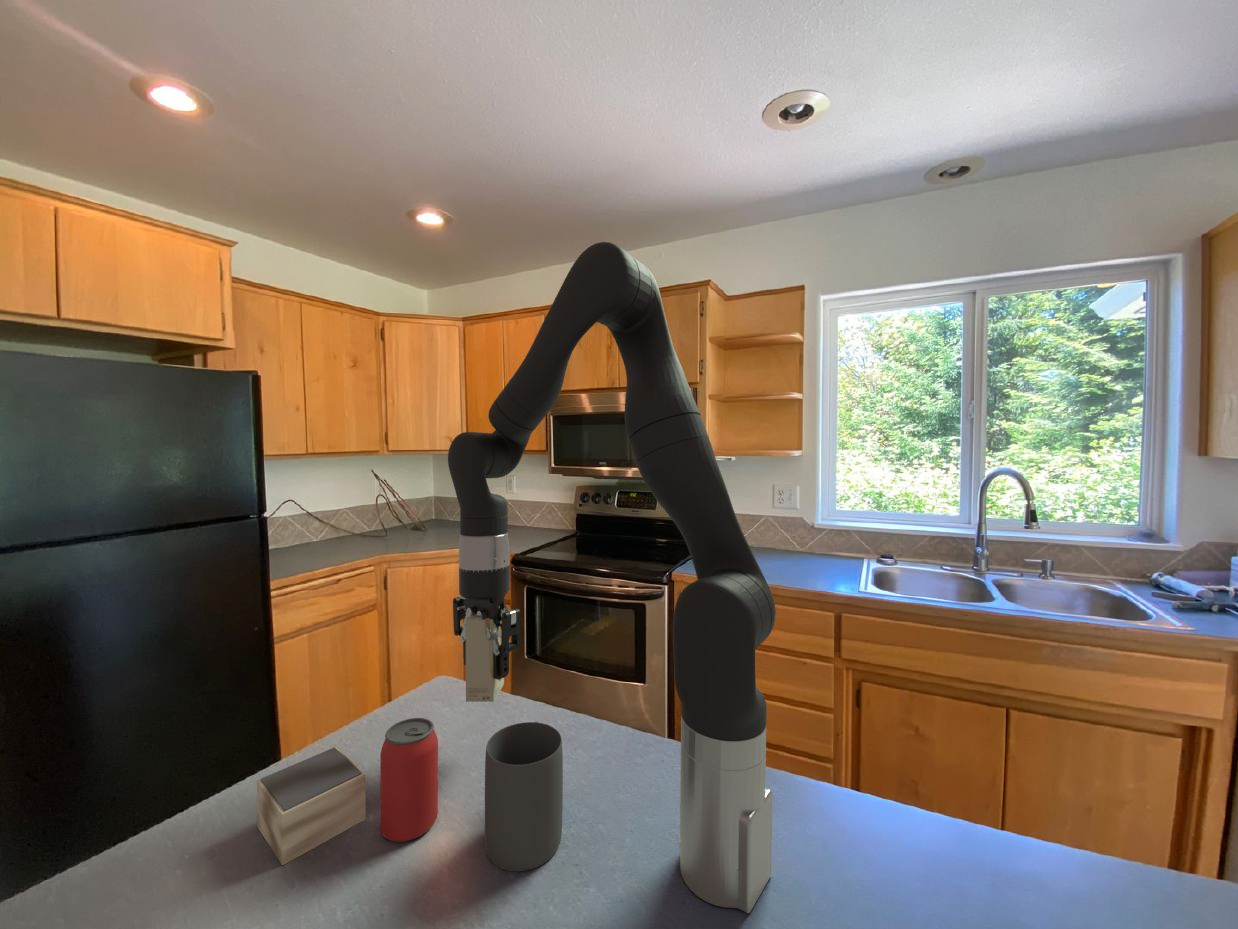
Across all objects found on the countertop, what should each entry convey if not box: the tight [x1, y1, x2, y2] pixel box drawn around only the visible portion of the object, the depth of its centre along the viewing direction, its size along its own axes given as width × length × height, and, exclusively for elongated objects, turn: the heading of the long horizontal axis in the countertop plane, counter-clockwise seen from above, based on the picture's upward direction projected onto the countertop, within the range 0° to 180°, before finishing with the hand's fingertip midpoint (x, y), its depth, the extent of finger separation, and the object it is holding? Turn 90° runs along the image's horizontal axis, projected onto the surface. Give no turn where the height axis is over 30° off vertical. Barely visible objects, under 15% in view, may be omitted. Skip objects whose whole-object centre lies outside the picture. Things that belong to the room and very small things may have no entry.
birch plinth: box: [256, 746, 366, 866], centre depth 61 cm, size 9×9×6 cm
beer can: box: [379, 717, 439, 843], centre depth 61 cm, size 7×7×12 cm
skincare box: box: [465, 614, 505, 703], centre depth 74 cm, size 6×4×12 cm
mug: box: [484, 721, 564, 872], centre depth 60 cm, size 14×9×12 cm
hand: (485, 670), depth 74 cm, fingers closed on skincare box, 7 cm apart
